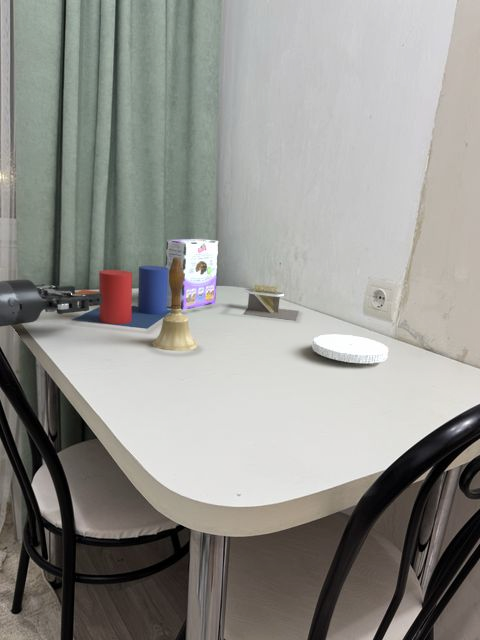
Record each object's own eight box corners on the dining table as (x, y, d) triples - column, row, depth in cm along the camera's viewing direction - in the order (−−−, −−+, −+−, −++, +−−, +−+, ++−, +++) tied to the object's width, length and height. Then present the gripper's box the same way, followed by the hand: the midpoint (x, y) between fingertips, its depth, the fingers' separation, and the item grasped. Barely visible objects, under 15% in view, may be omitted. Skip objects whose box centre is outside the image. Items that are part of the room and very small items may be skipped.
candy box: (197, 300, 134) (201, 238, 130) (215, 304, 132) (219, 240, 127) (163, 307, 123) (165, 238, 118) (182, 311, 120) (185, 241, 116)
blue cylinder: (134, 312, 113) (134, 267, 111) (143, 307, 119) (144, 264, 117) (161, 315, 113) (163, 270, 110) (169, 310, 119) (171, 267, 116)
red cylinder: (94, 322, 102) (93, 272, 99) (106, 315, 108) (106, 269, 106) (124, 325, 102) (125, 276, 99) (135, 318, 108) (136, 272, 105)
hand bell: (158, 354, 87) (161, 260, 83) (146, 340, 94) (148, 254, 90) (204, 351, 91) (209, 262, 86) (189, 339, 98) (193, 256, 93)
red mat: (60, 298, 122) (60, 297, 122) (83, 291, 133) (82, 289, 133) (108, 304, 121) (108, 302, 121) (127, 295, 133) (127, 294, 132)
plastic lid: (297, 354, 94) (298, 341, 93) (334, 342, 105) (336, 330, 104) (365, 374, 86) (367, 360, 86) (398, 359, 97) (400, 346, 96)
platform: (295, 320, 122) (298, 293, 120) (223, 311, 124) (224, 285, 122) (299, 310, 134) (301, 286, 132) (232, 303, 135) (234, 278, 134)
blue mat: (70, 321, 102) (70, 319, 102) (108, 304, 121) (108, 303, 120) (147, 330, 101) (147, 328, 101) (173, 311, 119) (173, 310, 119)
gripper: (-16, 316, 90) (66, 306, 103) (28, 333, 82) (110, 320, 95) (-19, 274, 88) (65, 270, 101) (26, 288, 80) (110, 281, 93)
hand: (87, 294), depth 98 cm, fingers open, 8 cm apart
